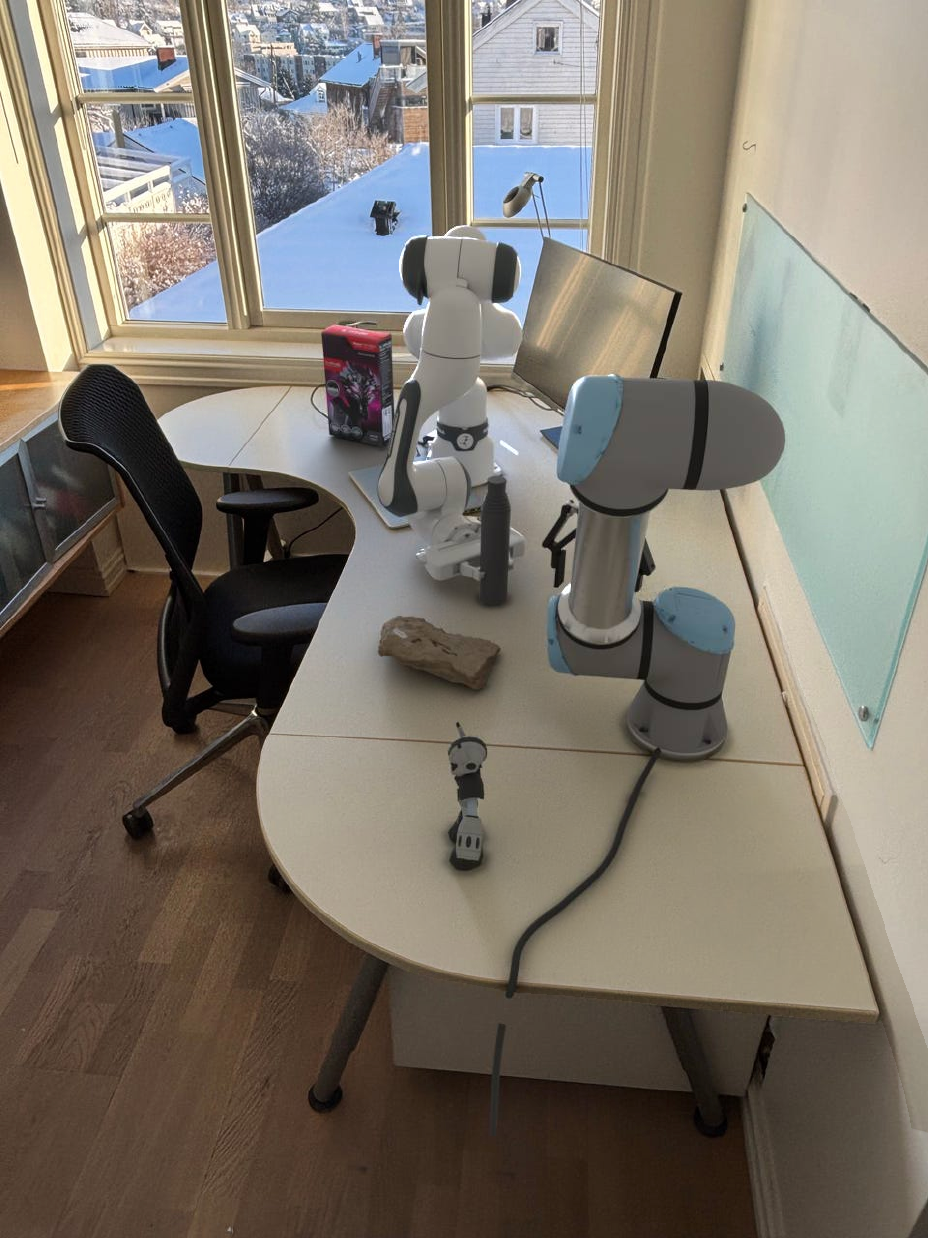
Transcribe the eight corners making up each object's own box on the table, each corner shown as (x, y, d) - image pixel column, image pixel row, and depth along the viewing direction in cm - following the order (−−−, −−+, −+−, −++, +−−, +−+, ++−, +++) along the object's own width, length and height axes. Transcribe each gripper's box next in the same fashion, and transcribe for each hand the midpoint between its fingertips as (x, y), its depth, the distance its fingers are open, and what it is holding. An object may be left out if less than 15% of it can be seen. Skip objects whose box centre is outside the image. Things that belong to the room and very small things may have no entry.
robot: (489, 905, 115) (493, 789, 104) (450, 907, 115) (450, 790, 104) (479, 793, 131) (482, 682, 120) (445, 794, 131) (445, 683, 120)
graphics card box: (326, 436, 238) (318, 330, 223) (342, 427, 243) (334, 322, 228) (383, 449, 231) (378, 340, 216) (397, 439, 237) (393, 333, 221)
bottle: (509, 593, 176) (514, 474, 162) (504, 608, 172) (508, 487, 158) (482, 590, 177) (485, 471, 163) (476, 604, 173) (479, 484, 159)
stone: (354, 663, 151) (360, 631, 149) (385, 632, 165) (392, 602, 162) (474, 706, 148) (483, 673, 145) (496, 671, 161) (504, 640, 159)
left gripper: (411, 539, 173) (448, 571, 164) (502, 513, 182) (542, 543, 173) (411, 567, 177) (448, 601, 167) (501, 541, 186) (540, 571, 176)
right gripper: (685, 492, 149) (668, 604, 161) (546, 461, 160) (539, 567, 171) (669, 509, 144) (652, 624, 155) (526, 475, 154) (521, 585, 166)
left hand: (497, 571), depth 170 cm, fingers closed on bottle, 5 cm apart
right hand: (593, 594), depth 163 cm, fingers open, 13 cm apart
